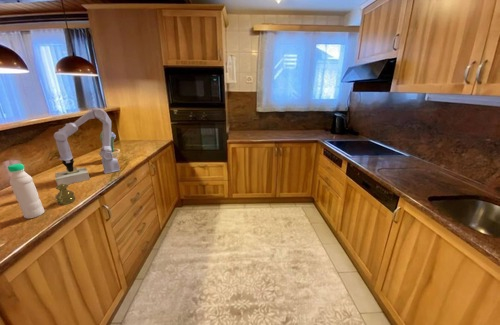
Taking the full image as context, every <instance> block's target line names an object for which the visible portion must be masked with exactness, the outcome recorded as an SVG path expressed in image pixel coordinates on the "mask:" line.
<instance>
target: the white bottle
mask: <svg viewBox="0 0 500 325" xmlns="http://www.w3.org/2000/svg"><path fill="white" fill-rule="evenodd" d="M7 170H8V171H9V173H11V175H10V180H9V185H10V186H11V188H12V192H13V194H14V196H15V199H16V200H17V203H18V205H19V206H18V207H19V209H20V210H21V213H22V216H23V218H24V219H27V220H28V219H31V220H32V219H35V218H37V217H41V216H42V215H43V214H44V213H45V208H44V206H43V204H42V200H41V199H40V197H39V193H38V189H37V188H36V185H35V183H34V179H33V176H31V175H30V174H28V173H27V172H26V171H25V165H24V164H22V163H15V164H11V165H9V166H8V167H7Z"/></svg>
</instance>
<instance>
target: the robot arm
mask: <svg viewBox="0 0 500 325" xmlns="http://www.w3.org/2000/svg"><path fill="white" fill-rule="evenodd" d="M93 119H98V120H99V121H100V122H101V123H102V131H103V136H102V142H101V143H102V145H101V147H100V148H101V149H100V151H99V152H100V155H99V156H100V157H101V163H102V167H103V168H102V169H103V170H102V172H103V173H104V175H107V174H110V173H115V172H119V171H121V169H120V164H119V161H118V160H119V159H118V160H117V158H113V154H112V149H111V132H112V120H111V118H110V117H109V115H108V113H107V112H106V111H105V110H104V109H103V108H99V107H94V108H92V109H91V110H88V111H87V112H85V113H84V114H83V115H82V116H80V117H79V118H77V119H76V120H75V121H73V122H69V123H65V126H63V127H62V128H59V129H58V131H56V132H54V133H53V138H54V140H55V144H56V147H57V150H58V153H59V155H60V156H59V158H58V160H59V161H62V162H61V163H62V164H63V165H64V166H65V169H66V168H67V169H68V171H69V172H73V167H74V163H75V161H74V156H73V154H72V151H71V150H72V149H71V146H70V143H69V141H68V137H70V136H72V135H73V134H75V133H76V132H78V131H79V127H80V126H81V125H83V124H85V123H86V122H87V121H89V120H93Z"/></svg>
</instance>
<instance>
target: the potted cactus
mask: <svg viewBox="0 0 500 325" xmlns="http://www.w3.org/2000/svg"><path fill="white" fill-rule="evenodd" d="M102 136H103V130H102V131H101V132H100V135H99V139H100V142H101V143H102ZM116 138H117V136H116V134H115V132H113V131H111V149H112V154H113V158H117V160H119V156H120V153H121V149H119V148H114V142H115V139H116ZM98 155H99V156H100V151H98Z"/></svg>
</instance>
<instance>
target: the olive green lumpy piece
mask: <svg viewBox="0 0 500 325" xmlns="http://www.w3.org/2000/svg"><path fill="white" fill-rule="evenodd" d="M68 187H69V184H68V185H67V184H60V185H57V186H56V187H55V189H56V190H58V191H59V192H58V193H56V195H55V199H56V203H57V205H58V206H59V205H60V206H64V205H69V204H71V203H73V202H75V201H76V196H75V192H74V191H72V190H68V189H67V188H68Z"/></svg>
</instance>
